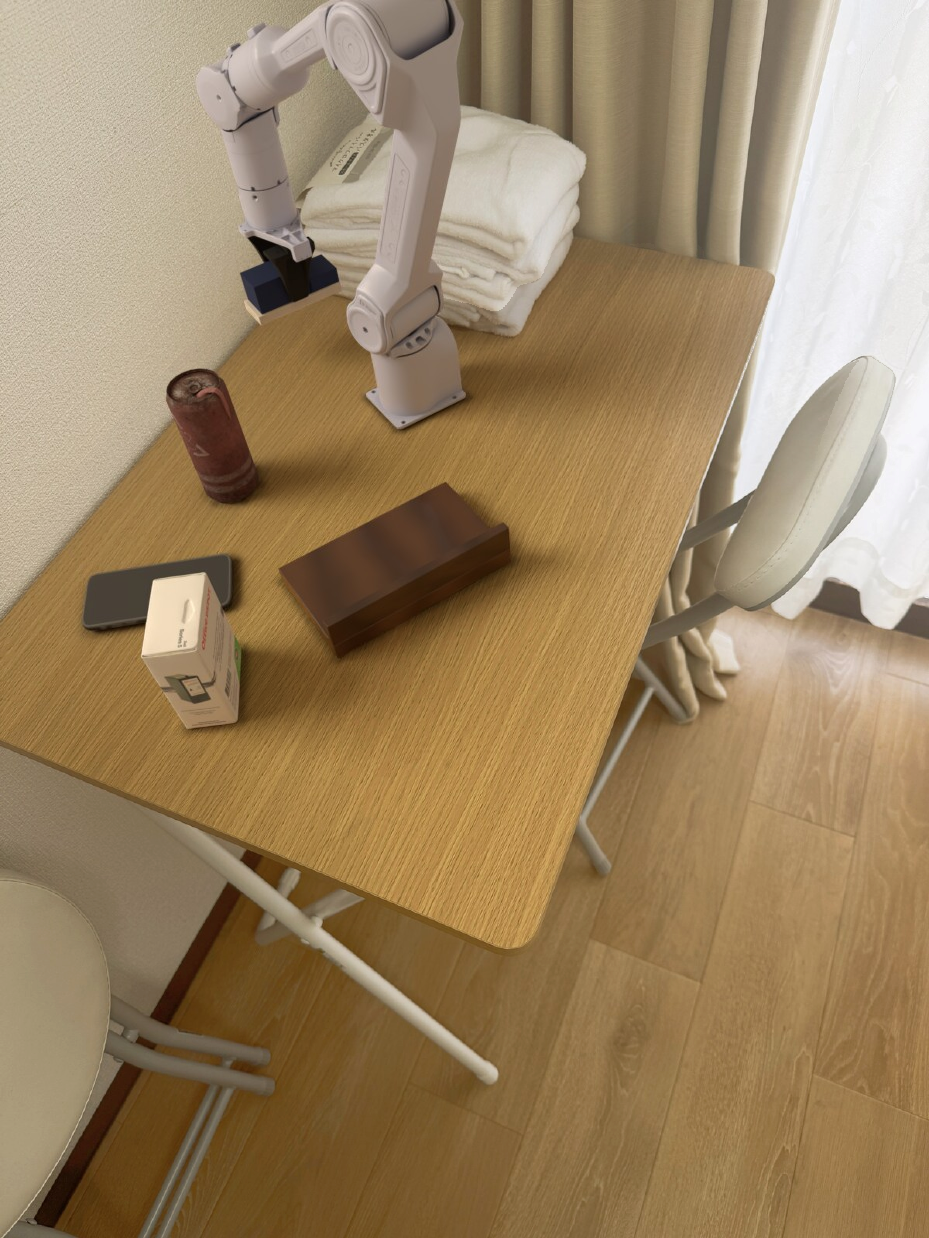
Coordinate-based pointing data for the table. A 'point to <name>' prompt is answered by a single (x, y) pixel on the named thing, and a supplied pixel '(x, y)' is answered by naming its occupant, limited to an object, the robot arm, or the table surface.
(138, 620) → the smartphone
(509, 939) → the table surface
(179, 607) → the ink box
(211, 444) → the can
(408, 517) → the wooden lipped stand
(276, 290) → the navy block on plinth
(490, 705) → the table surface
